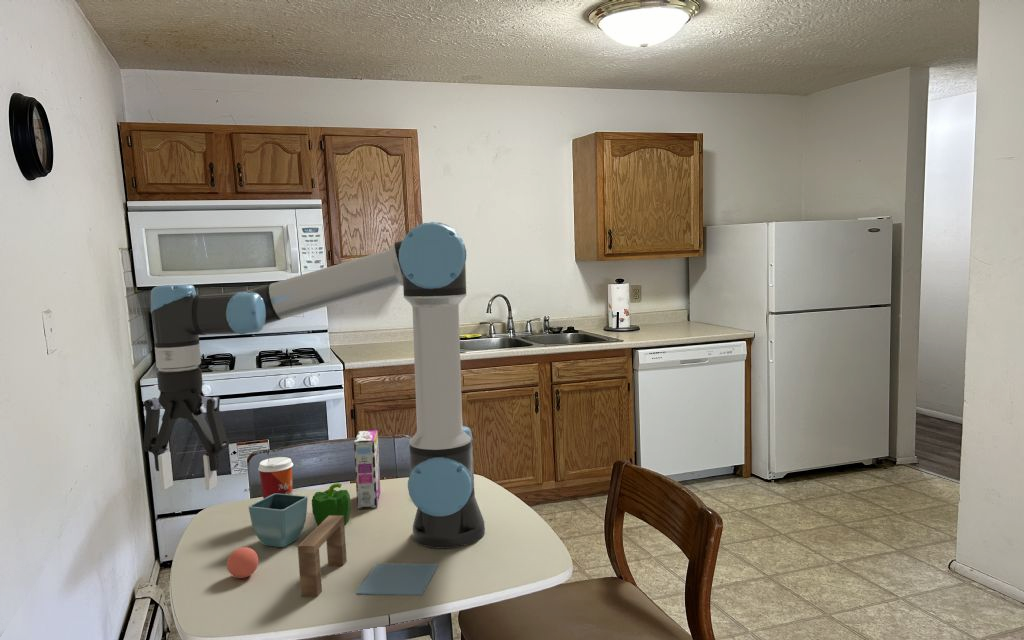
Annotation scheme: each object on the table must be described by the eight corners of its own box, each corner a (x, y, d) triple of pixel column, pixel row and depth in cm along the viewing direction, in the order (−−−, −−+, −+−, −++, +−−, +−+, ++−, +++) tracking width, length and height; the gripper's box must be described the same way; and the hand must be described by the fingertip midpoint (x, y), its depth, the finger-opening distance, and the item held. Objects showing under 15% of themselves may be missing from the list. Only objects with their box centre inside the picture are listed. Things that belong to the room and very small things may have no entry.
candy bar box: (378, 508, 168) (374, 440, 166) (356, 510, 167) (352, 442, 166) (381, 492, 179) (378, 429, 177) (361, 494, 178) (357, 430, 177)
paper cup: (290, 526, 158) (286, 465, 157) (256, 527, 158) (252, 466, 157) (301, 513, 166) (297, 455, 165) (269, 515, 166) (265, 456, 165)
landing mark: (437, 565, 135) (437, 564, 135) (422, 595, 123) (422, 594, 123) (376, 564, 137) (376, 563, 137) (355, 594, 125) (355, 593, 125)
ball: (264, 570, 136) (262, 542, 136) (250, 583, 131) (248, 554, 130) (237, 569, 137) (235, 542, 136) (222, 583, 131) (220, 554, 131)
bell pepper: (304, 533, 154) (301, 488, 153) (326, 519, 162) (323, 477, 161) (338, 537, 151) (335, 491, 150) (358, 522, 159) (355, 479, 158)
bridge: (346, 561, 139) (343, 515, 138) (317, 596, 124) (314, 546, 123) (331, 560, 139) (328, 515, 138) (301, 596, 125) (297, 546, 124)
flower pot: (311, 536, 152) (308, 495, 151) (285, 553, 144) (282, 510, 143) (277, 532, 155) (274, 492, 154) (250, 548, 147) (247, 506, 146)
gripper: (113, 372, 129) (124, 494, 131) (222, 370, 126) (231, 494, 128) (139, 366, 136) (149, 481, 138) (243, 363, 134) (252, 480, 136)
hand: (189, 487), depth 133 cm, fingers open, 8 cm apart
